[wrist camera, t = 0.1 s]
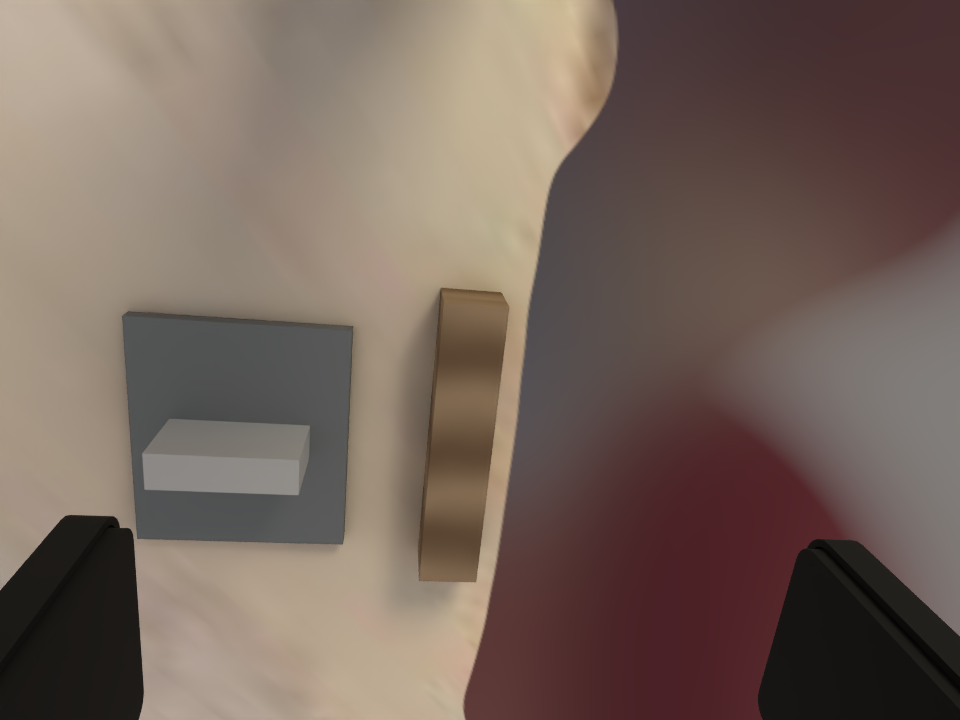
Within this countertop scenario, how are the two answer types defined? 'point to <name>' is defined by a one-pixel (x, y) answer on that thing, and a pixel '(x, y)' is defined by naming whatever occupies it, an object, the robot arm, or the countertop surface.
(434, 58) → the countertop surface
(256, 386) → the slate board
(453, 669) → the countertop surface
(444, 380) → the walnut bar
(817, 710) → the robot arm
